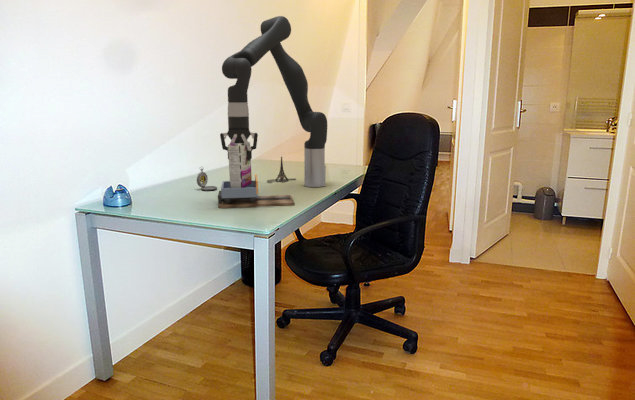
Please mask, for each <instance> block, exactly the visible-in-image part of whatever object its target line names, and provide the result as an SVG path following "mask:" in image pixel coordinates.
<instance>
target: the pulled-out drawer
mask: <svg viewBox="0 0 635 400" xmlns="http://www.w3.org/2000/svg"><path fill="white" fill-rule="evenodd" d="M254 179H255V180H252V183H251V184H250V185H248V186H246V187H245V188H230V180H225V181H224V180H223V181H222V183H221V187H220V191H221V198H225V199H224V200H225V202H226V203H229V202H231V198H247V197H249V200H250V202H254V201H255V200H256V198H255V197H258V196H259V180H258V175H257V174H256V173H255V174H254Z"/></svg>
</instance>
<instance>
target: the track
mask: <svg viewBox="0 0 635 400" xmlns="http://www.w3.org/2000/svg"><path fill="white" fill-rule="evenodd" d="M255 198H256V200H255V201H254V202H250V200H249V197H247V198H231V202H229V203H226V202H225V200H224V199H225V198H221V190H218V195H217V208H218V209H224V208H226V209H227V208H228V209H229V208H230V209H231V208H251V207H252V208H254V207H255V208H257V207H260V208H261V207H282V206H283V207H284V206H286V207H288V206H291V207H292V206H295V205H296V203H295V201H294V199H293V196H292V195H290V194H284V195H277V194H276V195H258V197H255Z"/></svg>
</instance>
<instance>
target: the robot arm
mask: <svg viewBox="0 0 635 400" xmlns="http://www.w3.org/2000/svg"><path fill="white" fill-rule="evenodd" d="M260 32H261V33H260V34H261V35H259V36H258V37H256V38H254V39H252V40H251V41H249V42H248V43H247V44H246V45H245V46H243V48H242V49H240V51H238V52H235V53H234V54H231V55H229V56H228V57H227V58H225V60H224V61H223V63H222V66H221V71H222V74H223V76H224V77H225V78H227V79H229V80H236V81H235V84H233V85H230V86H229V87H227V125H228V130H227V132H224V133H223V132H221V133H220V134H219V137H220V142H221V147H222V150H224V151H227V152H228V145H227V144H226V139H227V136H228V138H229V139H230V142H229V144H234V143H245V145H246V146H247V148H248V161H250V159H251V160H252V155H253V153H252V151H253V150H256V149H257V145H258V136H259V135H258V132H251V131H250V116H249V115H250V113H249V105H248V104H249V103H248V102H249V101H248V89H249V85H250V81H251V77H252V67H254V66H255V65H257V63H258V62H259V61H261V59H262V58H263V57H264V56H265V55H266V54H267V53H268V52H270V54H271V55H272V58H273V59H274V61H275V63H276V65H277V68H278V70H279V72H280V74H281V77H282V79H283V82H284V84H285V87H286V89H287V91H288V92H289V96H290V98H291V100H292V102H293V103H292V104H293V106H294V108H295V110H296V113H297V117H298V120H299V122H300V125H301V127H302V128H301V129H303V130H304V131H305V132H307V133H309V134H310V135H309V139H308V140H306V141H304V142H303V143H304V145H303V147H304V152H303V153H304V154H303V156H304V159H303V160H304V162H303V164H304V182H303V183H304V186H305V187H308V188H321V187H326V178H327V176H326V168H327V167H326V165H325V163H326V157H325V155H326V152H325V151H326V147H325V146H326V143H327V140H328V139H327V138H328V119H327V116H326V114H325V113H323V112H321V111H313V109H312V107H311V105H310V102H309V99H308V98H309V97H308V91H309V84H308V83H309V82H308V79H307V77H306V75H305V72H304V70H303V67H302V66H301V65H300V63H298V62H297V60H295V59H294V58H293V57H291V55H289V54H288V53H287V52H286V50H285V48H284V47H283V45H282V43H281V42H283V41H285V40H287V39H288V38H289V37H290V36H291V34H292V25H291V23H290V21H289V19H288V18H287V17H285V16H283V15H278V16H274V17H272V18H269V19H266V20H264V21H262V22H261V24H260ZM250 136H251V138H252V139H253V143H252V146H251V144H250V145H249V143H248V142H249V141H248V139H249V138H250ZM226 145H227V146H226ZM227 159H228V161H229V155H228V154H227Z"/></svg>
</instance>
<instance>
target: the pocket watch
mask: <svg viewBox="0 0 635 400" xmlns="http://www.w3.org/2000/svg"><path fill="white" fill-rule="evenodd" d="M199 170H200V172H199V173H198V174H197V176H196V184H197V186H198V187H200V189H201V190H202V191H207V192H210V191H215V190H217V189H218V186H214V185H208V186H207V184H208V181H209V179H208V175H207V173H206V172H205V171H204V167H202V168H199Z"/></svg>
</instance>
